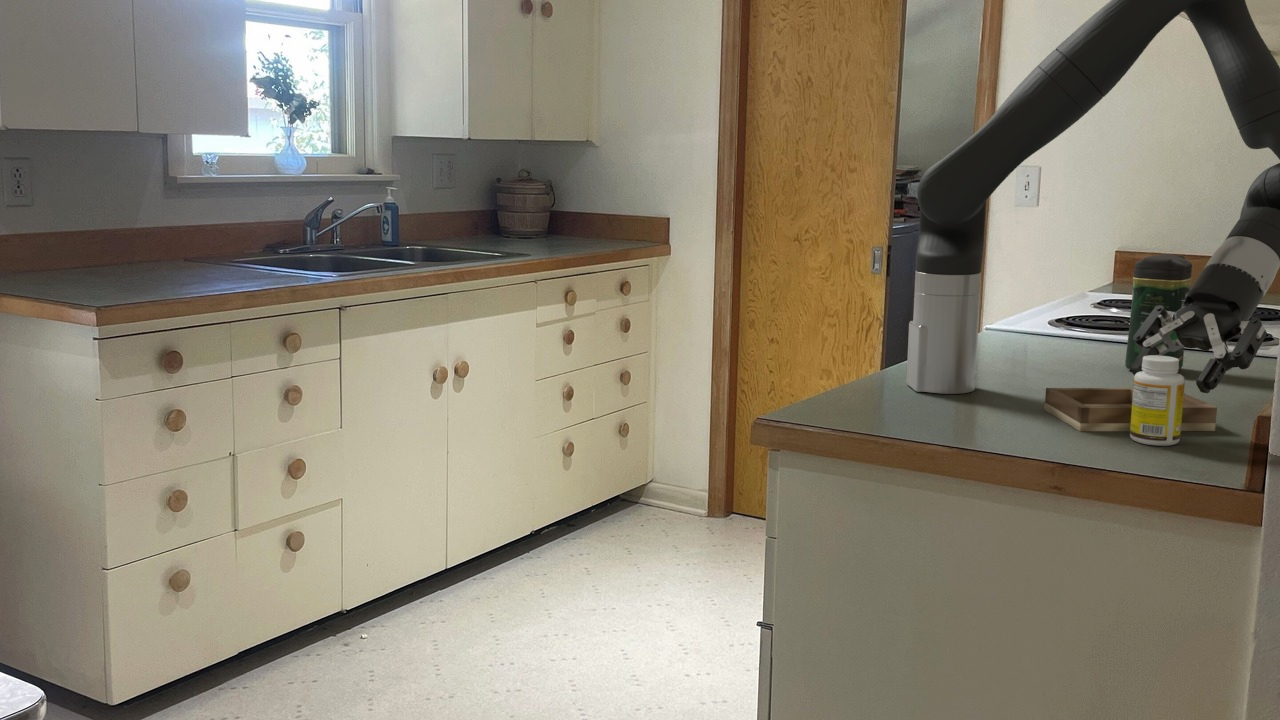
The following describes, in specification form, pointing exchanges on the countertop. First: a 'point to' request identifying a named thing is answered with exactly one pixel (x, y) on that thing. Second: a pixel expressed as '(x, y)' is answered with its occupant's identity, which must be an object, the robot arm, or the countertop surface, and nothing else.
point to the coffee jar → (1157, 295)
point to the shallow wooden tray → (1117, 409)
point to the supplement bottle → (1157, 402)
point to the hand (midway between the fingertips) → (1168, 382)
